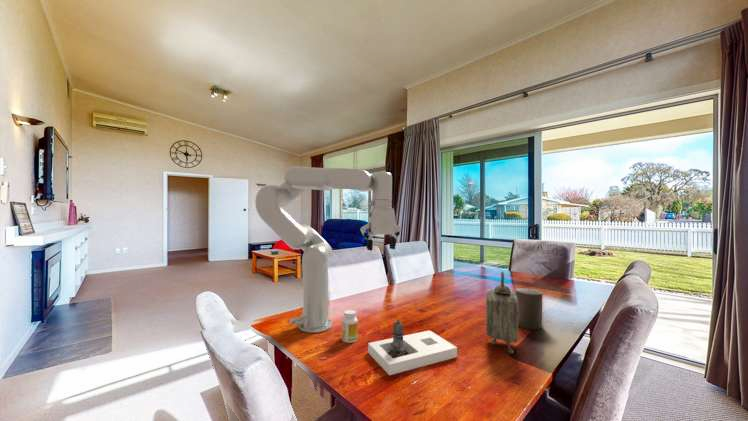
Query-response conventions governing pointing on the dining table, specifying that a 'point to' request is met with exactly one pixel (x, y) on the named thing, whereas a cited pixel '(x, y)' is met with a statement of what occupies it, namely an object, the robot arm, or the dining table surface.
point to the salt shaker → (397, 341)
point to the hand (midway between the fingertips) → (381, 249)
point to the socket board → (413, 352)
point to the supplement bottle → (349, 327)
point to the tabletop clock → (502, 314)
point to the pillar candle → (529, 308)
